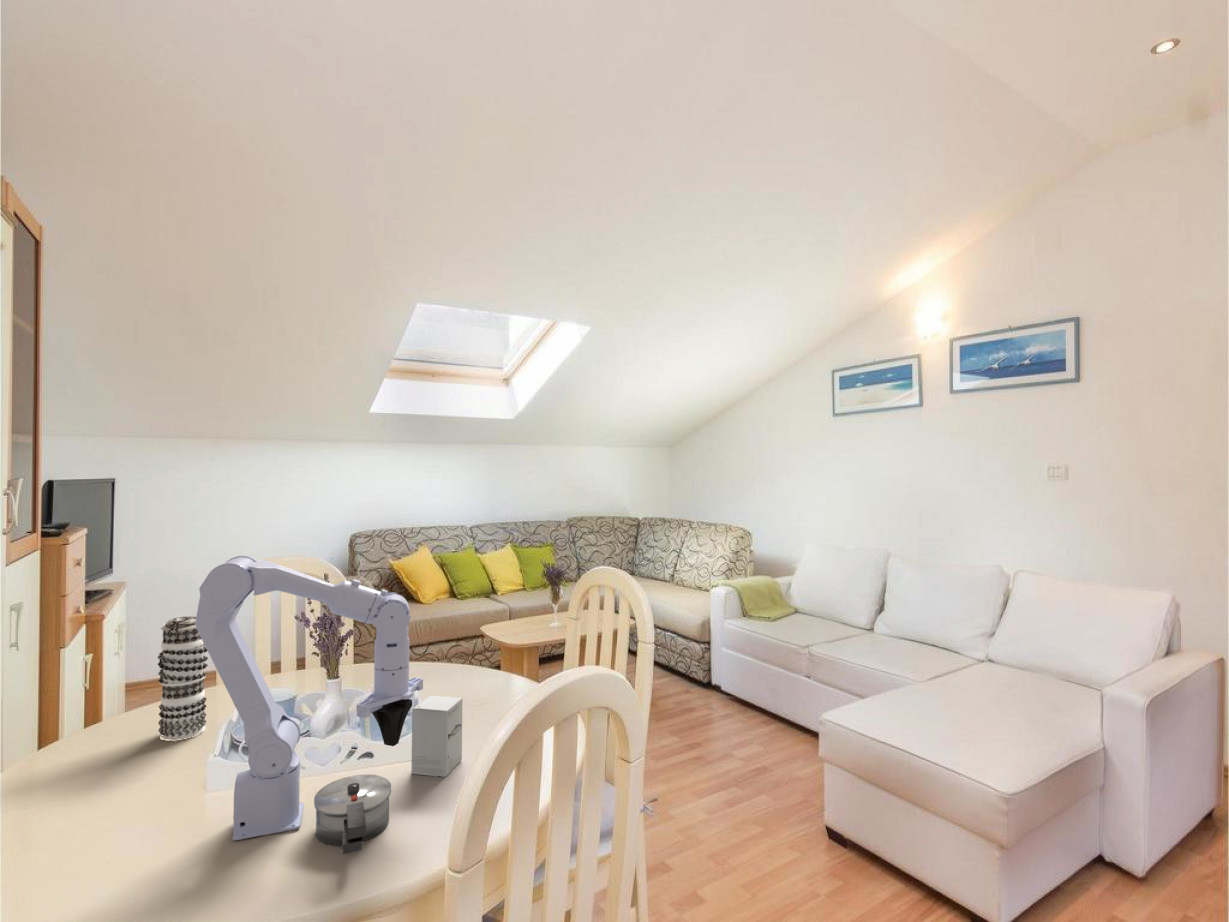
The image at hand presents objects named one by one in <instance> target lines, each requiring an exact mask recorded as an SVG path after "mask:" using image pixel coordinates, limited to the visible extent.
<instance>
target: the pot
mask: <svg viewBox="0 0 1229 922" xmlns="http://www.w3.org/2000/svg"><path fill="white" fill-rule="evenodd" d="M315 815H316V816H315V835H316V837H315V838H316V839H317V841H319V843H322V844H323V845H326V846H329V845H331V847H342V855H346V854H347V855H348V854H351V853H357V852H361V851H362V852H363V843H365V842H367V841H370V840H372V839H374V838H376V837H377V836H379V835H380V834H382V833H383V832H384V831H385V830H386V828H387V827H388V825H389V824H390V797H389V798H388V799H387V800H386V801H385V802H383V803H382V804H381V805H379V806H377V807H376V808H373V809H371V810H369V811H366V812H365V820H366V836H362V837H358V838H353V839H349V840H348V830H347V816H329V815H325V814H322V813H320V812H318V811H317V810H316V809H315Z"/></svg>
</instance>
